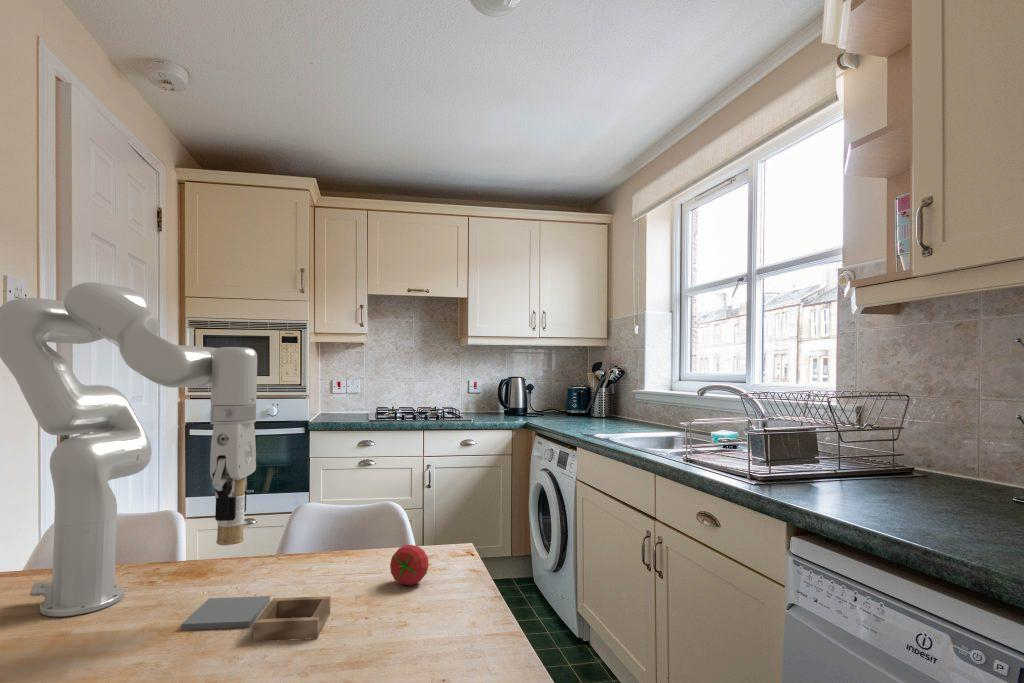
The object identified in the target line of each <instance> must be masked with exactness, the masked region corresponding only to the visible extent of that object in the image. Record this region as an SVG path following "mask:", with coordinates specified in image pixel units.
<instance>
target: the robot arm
mask: <svg viewBox="0 0 1024 683" xmlns="http://www.w3.org/2000/svg"><path fill="white" fill-rule="evenodd" d="M159 330H160V321H159V318H158V316H157V315H156V313H154V312H152V311H151V310H149V306H148V302H147V300H146V299H145V297H144V296H143V295H142V294H141V293H140V292H138V291H136V290H135V289H133V288H129V287H124V286H120V285H119V286H118V285H112V284H107V283H102V282H94V281H93V282H89V281H88V282H81V283H79V284H76V285H74V286H73V287H71V288H70V289H68V291H67V292H66V294H65V296H63V300H56V299H49V298H41V297H21V298H14V299H10V300H9V301H6V302H4V303H3V304H2V305H1V306H0V359H1V361H2V362H3V364H4V365H5V366H6V367H7V369H8V371H9V372H10V373H11V374H12V376H13V377H14V379H15V380H16V382H17V384H18V386H19V388H20V390H21V391H20V392H21V393H22V395H23V396H24V398H25V401H26V402H27V404H28V406H29V408H30V410H31V412H32V414H33V416H34V418H35V420H36V422H37V424H38V425H39V426H40V428H41V429H42V430H43V431H44V432H45V433H47V434H49V435H51V436H71V435H74V436H71V437H69V438H66V439H64V440H63V441H61V442H59V444H57V445H56V446H55V448H54V449H53V451H52V452H51V453H50V454H51V455H50V457H49V469H50V470H49V471H50V477H51V480H52V486H53V493H54V518H53V519H54V527H53V528H54V530H53V532H54V533H53V549H52V550H53V551H52V554H53V555H52V573H51V575H52V576H51V581H46V580H45V581H43V580H42V581H35V582H34V583H33V584H32V586H31V589H30V592H29V595H30V597H36V596H37V597H38V596H39V597H40V596H42V597H43V598H44V600H43V601H42V602H41V603H40V605H39V613H41V614H42V615H44V616H47V617H54V618H55V617H57V618H58V617H71V616H77V615H78V616H79V615H83V614H88V613H92V612H96V611H99V610H102V609H105V608H108V607H110V606H112V605H114V604H116V603H118V602H119V601H120V600H122V599H123V598H124V594H125V593H124V592H125V589H124V588H123V587H121V586H120V585H115V581H116V579H115V576H116V555H117V554H116V552H117V551H116V550H117V524H118V523H117V522H118V502H117V499H116V496H115V494H114V491H113V490H112V489H111V487H110V484H109V482H108V481H112V480H116V479H120V478H125V477H129V476H133V475H136V474H138V473H141V472H142V471H144V470H145V469H146V468H147V466H148V465H149V463H150V462H151V459H152V453H153V452H152V446H151V445H152V444H151V442H150V438H149V436H148V435H147V433H146V431H145V429H144V427H143V425H142V424H141V421H140V420H139V418H138V416H137V414H136V412H135V410H134V409H133V407H132V405H131V404H130V401H129V400H128V398H127V397H126V396H125V395H124V394H123V393H122V392H121V391H120V390H118V389H117V388H114V387H112V386H110V385H103V384H102V385H101V384H100V385H99V384H97V385H96V384H93V385H92V384H91V385H86V384H83V383H81V382H80V380H79V379H78V378H77V377H76V374H75V373H74V371H73V368H72V366H71V365H70V364H69V361H67V359H66V358H64V357H63V356H62V355H61V354H60V353H59V352H57V351H56V350H55V349H53V348H52V347H51V346H49V344H47V343H51V344H53V343H54V344H56V343H57V344H58V343H59V344H70V345H71V344H74V345H75V344H76V345H79V344H81V345H82V344H83V345H84V344H89V343H93V342H98V341H100V340H103V339H105V340H107V341H108V342H110V343H112V344H113V345H115V346H116V347H118V348H119V353H120V356H121V358H122V360H123V361H124V363H125V364H126V365H127V366H128V367H129V368H130V369H131V370H133V371H135V372H136V373H138V374H139V375H141V376H143V377H144V378H146V379H147V380H149V381H150V382H153V383H155V384H157V385H159V386H162V387H165V388H172V389H173V388H174V389H175V388H179V389H180V388H207V387H211V388H210V417H209V419H210V420H209V424H210V425H213V427H212V435H211V444H210V458H209V460H210V461H209V476H210V478H211V479H212V483H211V484H212V486H213V488H214V490H215V493H214V497H215V513H214V514H215V515H214V519H215V521H216V522H217V521H230V520H234V519H235V516H236V497H233V496H234V489H235V480H240V479H243V478H245V492H244V494H245V507H244V513H246V511H247V489H248V481H247V480H248V479H249V478H248V477H249V476H250V475H252V474H253V473H254V472H255V471H256V470H257V446H256V443H257V442H256V432H255V423H257V390H258V388H257V386H258V354H257V351H256V350H255V349H254V348H251V347H243V346H242V347H240V346H223V347H210V346H198V345H183V344H182V345H181V344H180V345H179V344H174V343H173V342H170V341H169V340H167V339H165V338H163V337H161V336H159V335H158V334H159ZM224 476H230V477H231V479H224ZM224 483H230V484H229V487H228V485H227V484H224Z"/></svg>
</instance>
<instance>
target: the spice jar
mask: <svg viewBox="0 0 1024 683" xmlns="http://www.w3.org/2000/svg"><path fill="white" fill-rule="evenodd" d="M224 479H231V477H230V476H224ZM224 484H227V485H228V487H229V484H230V483H224ZM245 491H246V490H245V478H243V479H240V480H235V489H234V496H233V497H236V516H235V519H234V520H230V521H216V523H217V536H216V544H217V545H218V546H231V545H232V546H233V545H237V544H241V543H242V542H244V540H245V538H244V525H245V524H244V523H245V512H244V507H245V494H244V492H245Z"/></svg>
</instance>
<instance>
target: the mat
mask: <svg viewBox="0 0 1024 683" xmlns="http://www.w3.org/2000/svg"><path fill="white" fill-rule="evenodd" d="M270 602H271V595H266V596H265V595H264V596H240V597H239V596H238V597H234V596H233V597H216V598H215V597H212V598H210V597H209V598H208V599H207V600H206V601H204V602H203V604H201V605H200V606H199V607H198V608H197V609H195V611H194V612H193V613H191V614H190V616H189V617H188V618H187V619H185V620H184V621H183V622H182V623H181V628H180V630H181V631H191V630H192V631H193V630H194V631H195V630H213V629H214V630H215V629H217V630H218V629H220V630H221V629H239V628H241V629H242V628H250V627H251V626H252V625H253V624H254V622H255V621H256V620H257V618H258V617H259V616H260V615H259V614H261V613H262V612H263V611H264V609H265V608H266V607H267V606H268V604H269V603H270ZM255 619H256V620H255Z"/></svg>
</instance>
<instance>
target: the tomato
mask: <svg viewBox="0 0 1024 683" xmlns="http://www.w3.org/2000/svg"><path fill="white" fill-rule="evenodd" d="M389 564H390V565H389V567H390V574H391V575H392V578H393V579H394V580H395V581H396V582H397V583H399V584H400V585H403V586H410V585H411V586H414V585H416V584H418V583H419V582H421V581H422V580H423V578H425V576H426V575H427V573H428V569H429V567H430V564H429V557H428V555H427V553H426V552H425V550H424V549H423V548H421V547H419V546H418V545H416V544H415V545H414V544H406V545H403V546H401V547H399V548H398V549H397V550H396V551H395V552H394V553H393V555H392V557H391V560H390V563H389Z"/></svg>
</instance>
